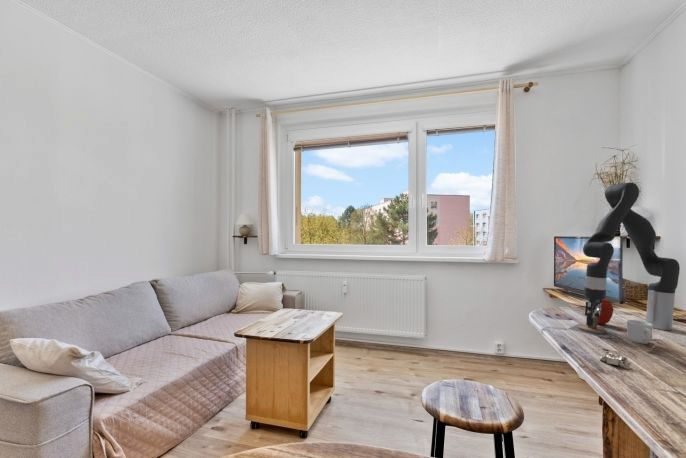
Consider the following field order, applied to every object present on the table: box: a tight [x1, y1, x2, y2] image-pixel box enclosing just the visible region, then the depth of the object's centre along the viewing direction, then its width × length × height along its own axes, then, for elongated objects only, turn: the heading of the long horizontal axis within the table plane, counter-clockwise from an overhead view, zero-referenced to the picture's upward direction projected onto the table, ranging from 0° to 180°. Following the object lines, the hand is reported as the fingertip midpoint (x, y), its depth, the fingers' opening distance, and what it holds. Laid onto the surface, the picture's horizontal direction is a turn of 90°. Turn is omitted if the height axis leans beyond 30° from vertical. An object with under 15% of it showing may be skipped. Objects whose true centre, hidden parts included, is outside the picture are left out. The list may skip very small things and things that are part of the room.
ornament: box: [599, 350, 631, 370], centre depth 111 cm, size 8×7×4 cm
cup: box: [626, 319, 654, 345], centre depth 134 cm, size 11×8×8 cm
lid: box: [578, 316, 608, 334], centre depth 146 cm, size 10×10×6 cm
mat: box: [567, 323, 618, 340], centre depth 146 cm, size 15×14×1 cm
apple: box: [589, 298, 615, 326], centre depth 159 cm, size 10×10×14 cm
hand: (592, 324), depth 146 cm, fingers open, 8 cm apart
